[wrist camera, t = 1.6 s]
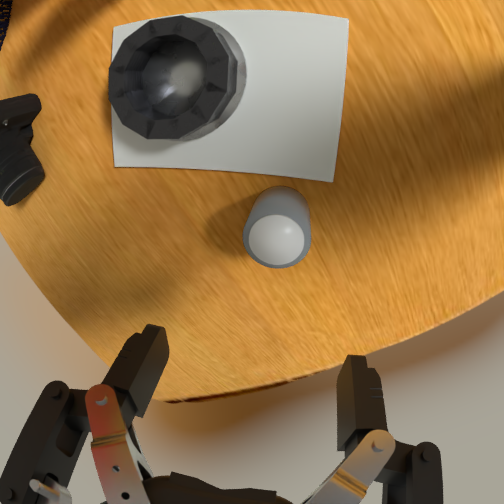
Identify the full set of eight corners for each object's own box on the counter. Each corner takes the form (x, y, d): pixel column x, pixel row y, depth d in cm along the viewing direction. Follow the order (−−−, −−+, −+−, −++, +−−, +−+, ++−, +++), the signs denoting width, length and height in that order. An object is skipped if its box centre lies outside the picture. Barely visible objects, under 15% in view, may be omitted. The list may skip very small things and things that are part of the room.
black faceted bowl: (250, 15, 17) (242, 2, 14) (243, 142, 23) (234, 150, 20) (127, 28, 18) (104, 23, 15) (125, 141, 24) (104, 149, 21)
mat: (348, 20, 16) (348, 18, 16) (332, 181, 23) (332, 182, 23) (116, 27, 18) (113, 27, 18) (116, 165, 26) (114, 166, 25)
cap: (313, 189, 24) (316, 213, 20) (305, 241, 27) (305, 274, 22) (254, 182, 25) (243, 205, 20) (251, 234, 27) (240, 266, 23)
